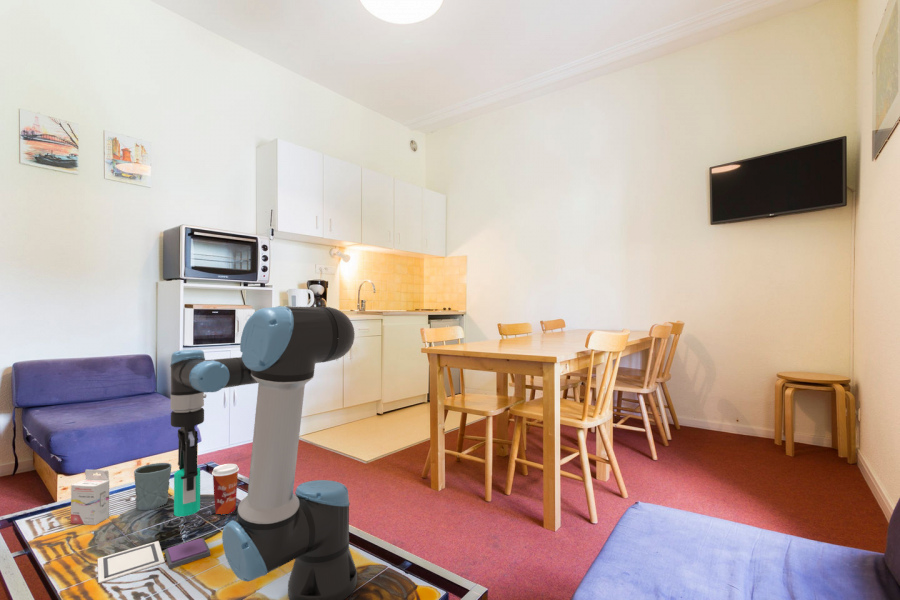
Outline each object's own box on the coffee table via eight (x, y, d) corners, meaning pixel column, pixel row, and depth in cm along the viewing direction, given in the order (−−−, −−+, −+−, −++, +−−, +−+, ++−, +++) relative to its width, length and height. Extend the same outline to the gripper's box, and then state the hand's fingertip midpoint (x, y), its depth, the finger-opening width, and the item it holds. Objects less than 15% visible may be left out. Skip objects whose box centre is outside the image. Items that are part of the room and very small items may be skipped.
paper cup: (218, 520, 131) (218, 473, 132) (207, 513, 136) (207, 468, 136) (244, 510, 137) (244, 466, 138) (232, 504, 142) (232, 461, 142)
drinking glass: (126, 509, 139) (126, 471, 140) (155, 496, 149) (156, 461, 149) (150, 513, 136) (150, 474, 137) (178, 499, 146) (178, 463, 146)
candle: (187, 517, 110) (188, 469, 110) (167, 515, 111) (168, 468, 111) (205, 506, 115) (205, 461, 116) (186, 505, 117) (186, 460, 117)
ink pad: (210, 555, 112) (210, 550, 112) (169, 569, 106) (169, 563, 106) (203, 541, 119) (203, 536, 119) (164, 553, 113) (164, 548, 113)
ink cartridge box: (69, 524, 130) (69, 474, 130) (84, 516, 135) (85, 468, 135) (95, 525, 129) (95, 475, 129) (110, 517, 134) (110, 469, 134)
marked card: (164, 562, 109) (164, 561, 109) (98, 583, 101) (98, 582, 101) (158, 541, 119) (158, 540, 119) (97, 559, 111) (97, 558, 111)
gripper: (211, 413, 109) (210, 506, 109) (197, 401, 123) (197, 484, 122) (176, 417, 104) (175, 515, 104) (166, 405, 118) (165, 491, 118)
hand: (187, 498), depth 113 cm, fingers closed on candle, 5 cm apart
